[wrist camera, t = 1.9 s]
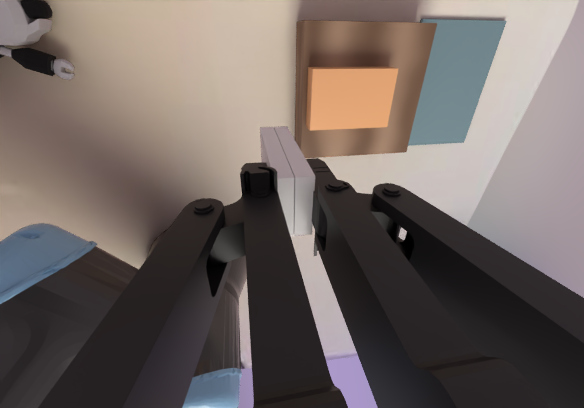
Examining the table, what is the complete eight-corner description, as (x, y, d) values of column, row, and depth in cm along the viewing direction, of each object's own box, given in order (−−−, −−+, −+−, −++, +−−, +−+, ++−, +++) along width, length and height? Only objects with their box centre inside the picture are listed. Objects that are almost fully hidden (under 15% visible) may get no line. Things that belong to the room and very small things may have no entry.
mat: (393, 145, 39) (395, 146, 39) (420, 19, 31) (423, 18, 31) (461, 141, 41) (463, 142, 41) (503, 21, 33) (506, 20, 33)
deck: (294, 147, 37) (300, 158, 33) (296, 21, 29) (304, 20, 26) (391, 142, 39) (406, 152, 35) (415, 24, 31) (437, 23, 28)
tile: (305, 125, 31) (310, 130, 30) (308, 67, 28) (312, 69, 26) (379, 122, 33) (387, 127, 31) (389, 66, 30) (398, 68, 28)
